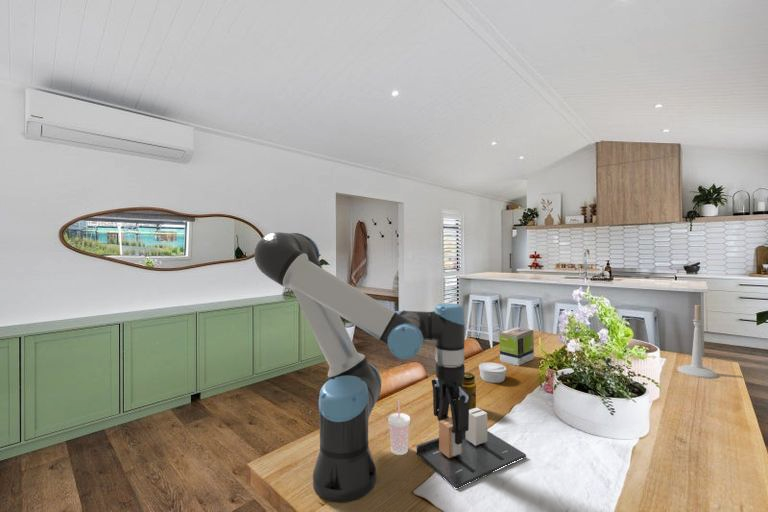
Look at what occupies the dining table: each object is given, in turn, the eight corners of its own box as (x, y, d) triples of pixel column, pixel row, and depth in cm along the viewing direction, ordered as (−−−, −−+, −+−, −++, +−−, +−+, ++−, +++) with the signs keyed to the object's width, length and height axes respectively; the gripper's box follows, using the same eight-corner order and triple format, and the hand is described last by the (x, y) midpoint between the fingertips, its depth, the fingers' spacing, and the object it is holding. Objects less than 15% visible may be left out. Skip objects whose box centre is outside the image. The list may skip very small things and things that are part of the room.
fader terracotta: (448, 458, 91) (448, 427, 91) (439, 450, 94) (439, 420, 94) (461, 453, 93) (461, 423, 93) (451, 445, 96) (451, 416, 96)
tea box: (515, 354, 180) (515, 326, 180) (534, 359, 172) (534, 329, 172) (499, 361, 170) (499, 330, 170) (518, 366, 163) (518, 334, 162)
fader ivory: (475, 445, 96) (475, 416, 96) (465, 438, 100) (465, 410, 100) (487, 441, 99) (487, 412, 98) (477, 434, 102) (477, 407, 102)
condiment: (481, 410, 120) (481, 375, 120) (463, 417, 115) (463, 381, 115) (465, 402, 126) (465, 369, 126) (448, 408, 122) (448, 374, 121)
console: (455, 489, 81) (455, 479, 81) (416, 454, 95) (416, 445, 95) (525, 458, 93) (525, 449, 93) (481, 430, 107) (481, 422, 107)
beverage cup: (392, 442, 101) (392, 394, 101) (413, 446, 99) (412, 397, 99) (385, 453, 96) (384, 403, 95) (406, 458, 93) (406, 406, 93)
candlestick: (724, 379, 145) (725, 307, 144) (686, 376, 149) (687, 305, 148) (706, 369, 157) (707, 302, 156) (671, 366, 161) (672, 301, 160)
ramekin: (503, 386, 140) (503, 373, 140) (475, 381, 146) (475, 368, 146) (509, 377, 150) (509, 365, 150) (483, 372, 156) (483, 360, 156)
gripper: (484, 370, 87) (484, 462, 88) (441, 352, 102) (441, 431, 103) (460, 375, 84) (461, 472, 84) (419, 356, 99) (420, 438, 99)
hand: (450, 449), depth 94 cm, fingers closed on fader terracotta, 4 cm apart
